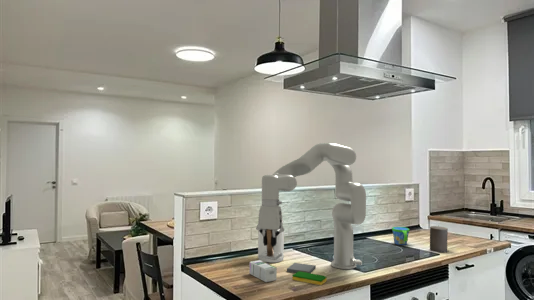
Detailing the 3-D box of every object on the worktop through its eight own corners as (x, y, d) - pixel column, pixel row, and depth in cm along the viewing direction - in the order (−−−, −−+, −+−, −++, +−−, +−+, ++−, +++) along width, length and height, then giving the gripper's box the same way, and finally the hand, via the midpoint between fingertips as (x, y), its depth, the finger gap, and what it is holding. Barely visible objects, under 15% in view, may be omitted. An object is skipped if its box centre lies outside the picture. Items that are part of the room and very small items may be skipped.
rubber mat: (315, 268, 178) (315, 265, 178) (308, 274, 168) (308, 271, 168) (294, 265, 183) (294, 262, 183) (286, 271, 173) (286, 268, 173)
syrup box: (266, 269, 157) (249, 260, 169) (266, 283, 157) (248, 273, 169) (277, 267, 161) (259, 259, 173) (276, 280, 161) (259, 271, 173)
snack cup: (413, 247, 224) (413, 230, 225) (396, 246, 225) (396, 230, 225) (404, 241, 240) (404, 226, 240) (388, 241, 240) (388, 225, 241)
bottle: (288, 258, 196) (289, 206, 197) (274, 264, 185) (275, 209, 185) (267, 254, 204) (267, 204, 205) (252, 260, 193) (253, 207, 193)
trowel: (281, 255, 159) (280, 226, 158) (275, 260, 154) (274, 229, 153) (265, 253, 163) (265, 224, 162) (259, 257, 158) (258, 227, 157)
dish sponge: (298, 276, 168) (298, 270, 168) (327, 281, 161) (327, 276, 161) (291, 280, 162) (292, 275, 162) (321, 286, 155) (321, 280, 155)
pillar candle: (426, 250, 218) (427, 225, 218) (434, 247, 224) (434, 223, 224) (443, 253, 210) (443, 227, 210) (450, 250, 217) (450, 225, 217)
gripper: (290, 203, 159) (290, 245, 158) (257, 201, 165) (256, 241, 165) (284, 205, 152) (284, 249, 151) (249, 203, 158) (249, 245, 158)
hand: (269, 245), depth 158 cm, fingers closed on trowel, 3 cm apart
